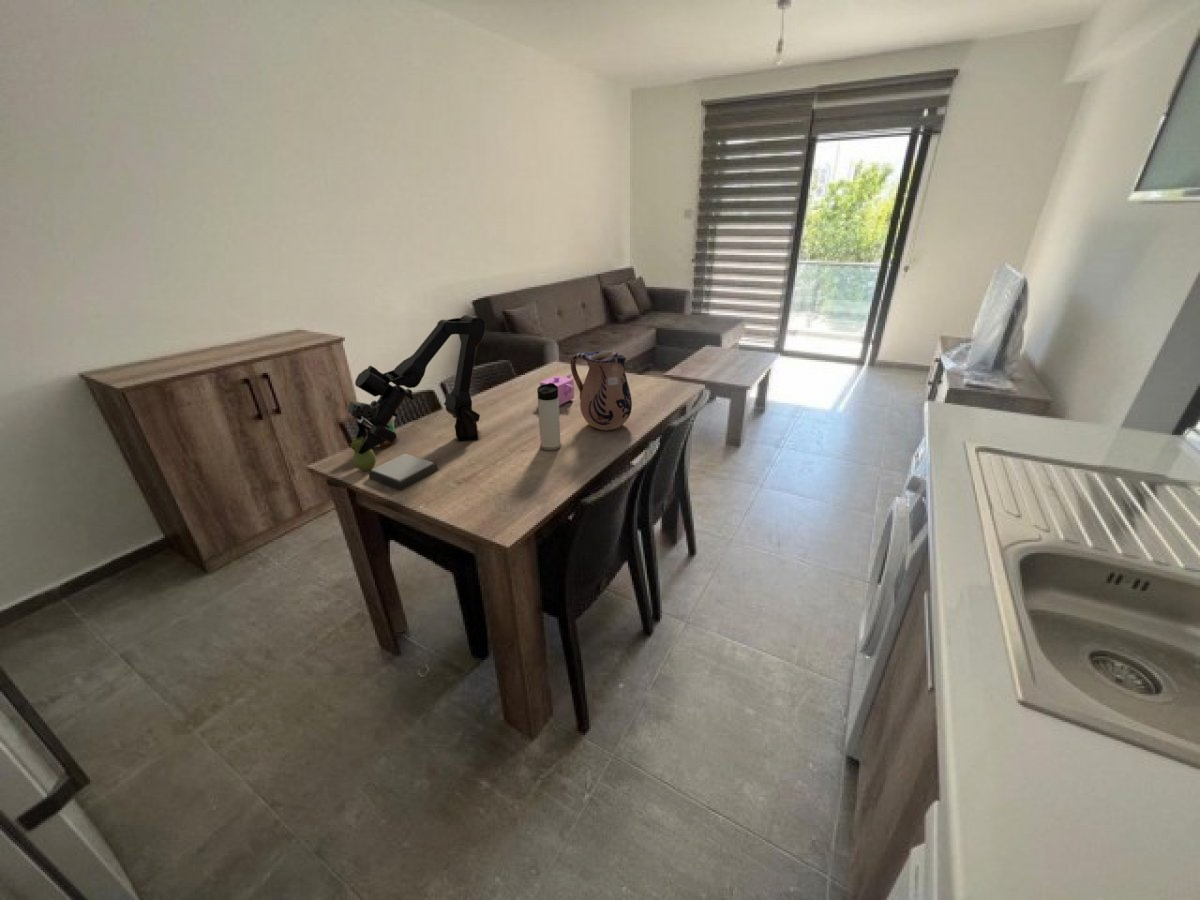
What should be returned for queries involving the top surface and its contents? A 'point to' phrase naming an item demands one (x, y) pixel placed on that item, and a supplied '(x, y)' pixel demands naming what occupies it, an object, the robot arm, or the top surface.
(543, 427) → the travel mug
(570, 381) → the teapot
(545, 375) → the top surface
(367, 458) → the pear
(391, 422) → the food container
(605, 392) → the ceramic pitcher
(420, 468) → the kitchen scale
